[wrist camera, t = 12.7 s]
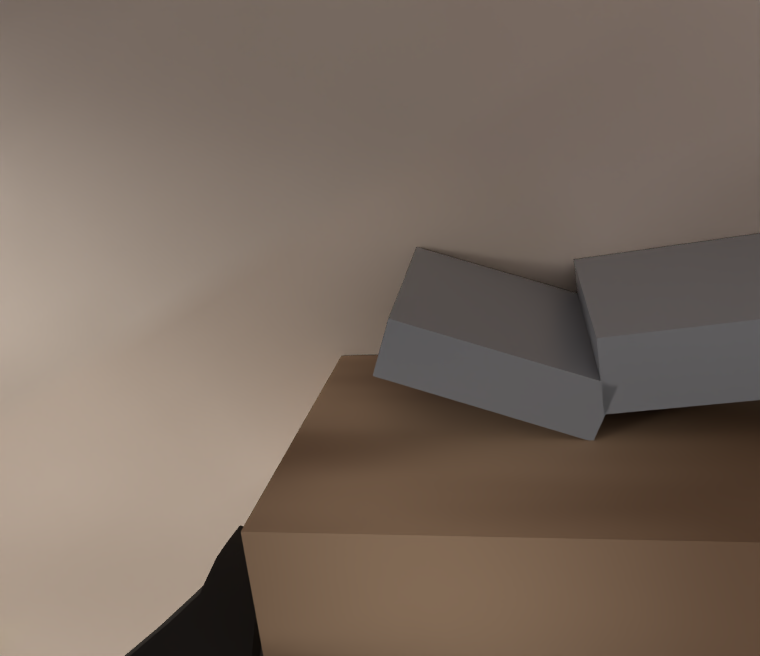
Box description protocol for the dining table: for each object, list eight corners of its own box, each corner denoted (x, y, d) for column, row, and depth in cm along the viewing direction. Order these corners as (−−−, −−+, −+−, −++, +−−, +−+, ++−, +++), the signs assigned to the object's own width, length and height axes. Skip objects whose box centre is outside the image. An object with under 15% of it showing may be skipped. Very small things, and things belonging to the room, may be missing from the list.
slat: (362, 530, 13) (286, 775, 9) (341, 355, 12) (239, 532, 8) (971, 542, 11) (1286, 863, 7) (1013, 337, 10) (1425, 555, 6)
